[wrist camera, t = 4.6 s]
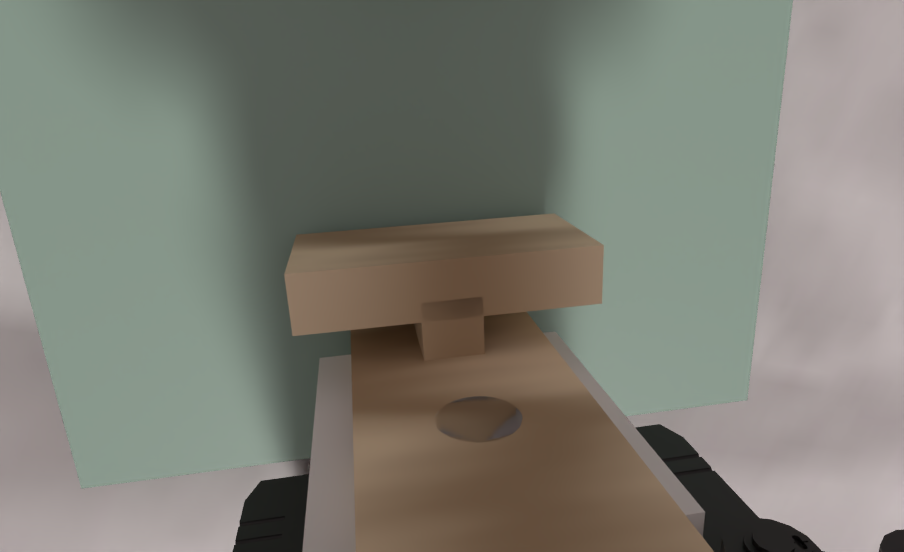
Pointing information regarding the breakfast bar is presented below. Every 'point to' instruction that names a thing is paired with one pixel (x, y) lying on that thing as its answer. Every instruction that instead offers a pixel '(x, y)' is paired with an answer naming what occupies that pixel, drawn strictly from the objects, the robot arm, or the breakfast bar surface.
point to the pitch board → (369, 191)
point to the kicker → (476, 392)
